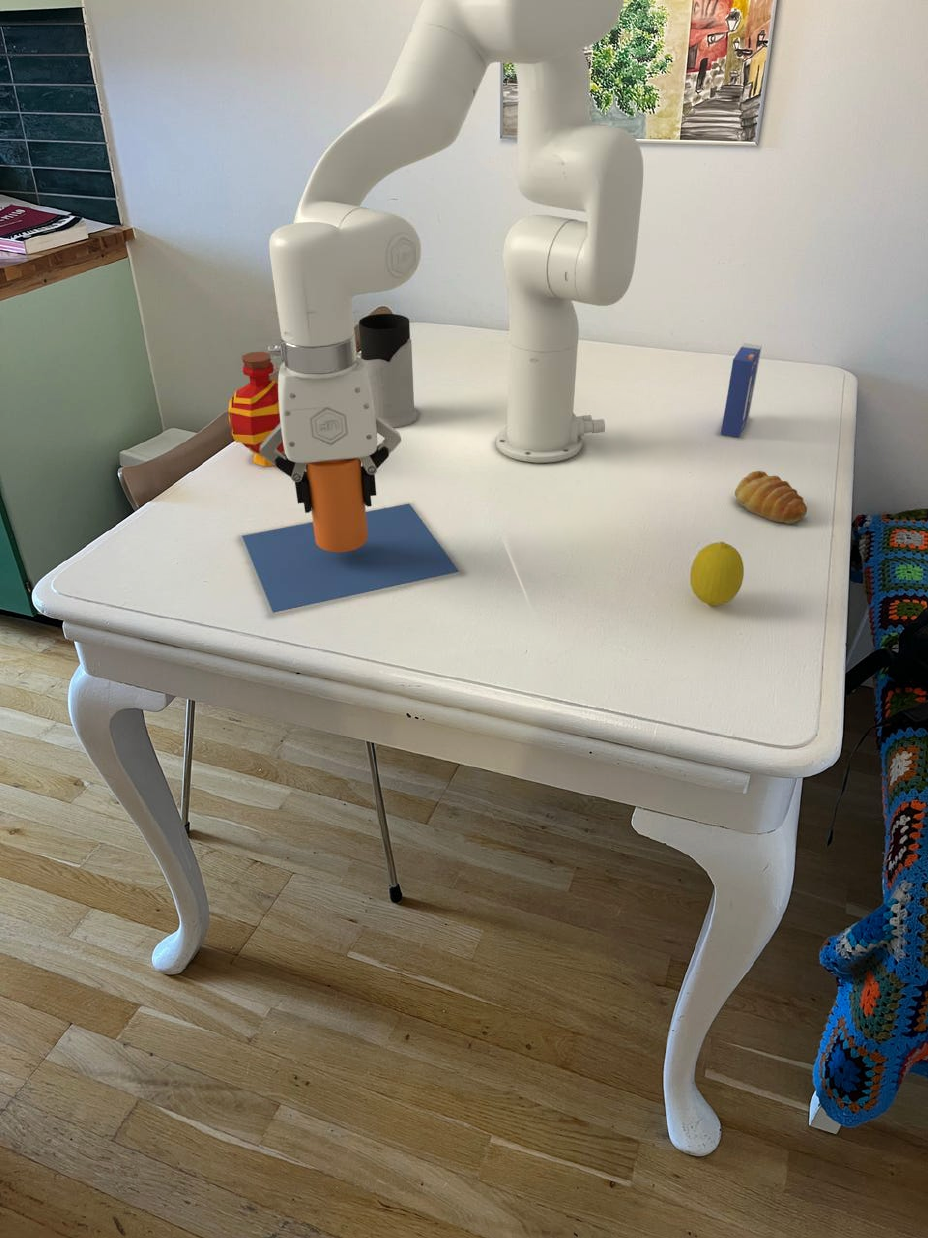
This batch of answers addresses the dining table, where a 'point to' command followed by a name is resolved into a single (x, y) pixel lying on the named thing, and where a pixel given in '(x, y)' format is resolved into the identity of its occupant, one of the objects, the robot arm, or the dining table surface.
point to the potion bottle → (256, 406)
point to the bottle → (337, 504)
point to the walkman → (740, 389)
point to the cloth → (345, 560)
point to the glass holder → (389, 366)
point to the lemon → (717, 573)
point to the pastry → (770, 498)
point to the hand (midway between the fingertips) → (337, 502)
